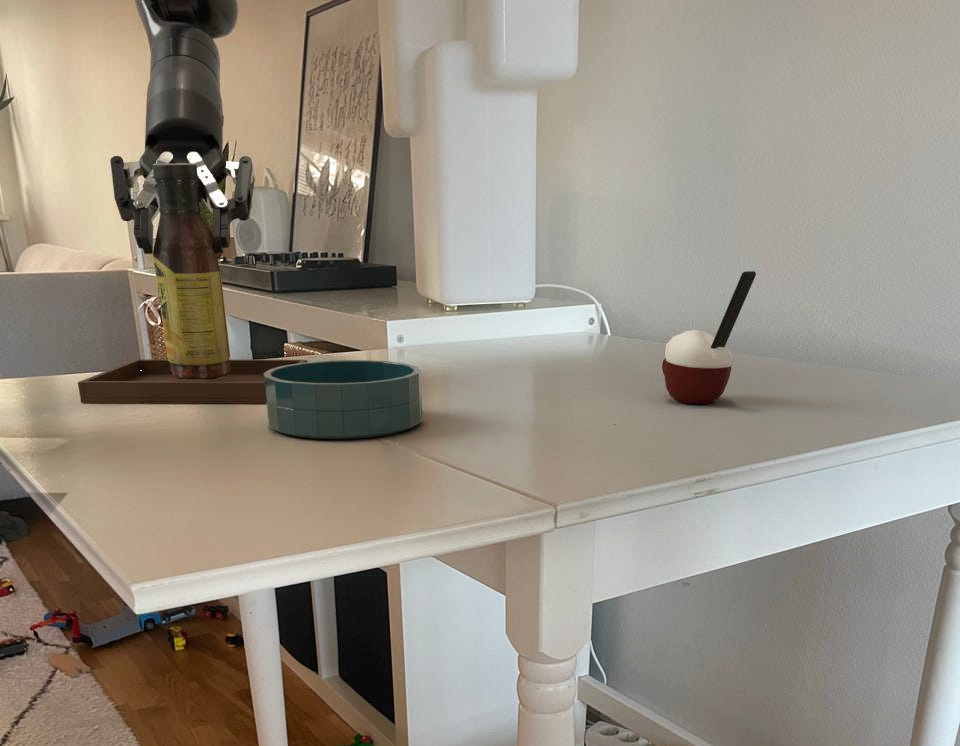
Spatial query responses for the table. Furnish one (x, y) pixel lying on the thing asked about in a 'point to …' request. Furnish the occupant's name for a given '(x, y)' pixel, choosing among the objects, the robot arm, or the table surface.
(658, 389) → the table surface
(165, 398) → the tray
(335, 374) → the bowl
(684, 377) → the ice cream cup
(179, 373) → the sauce bottle
